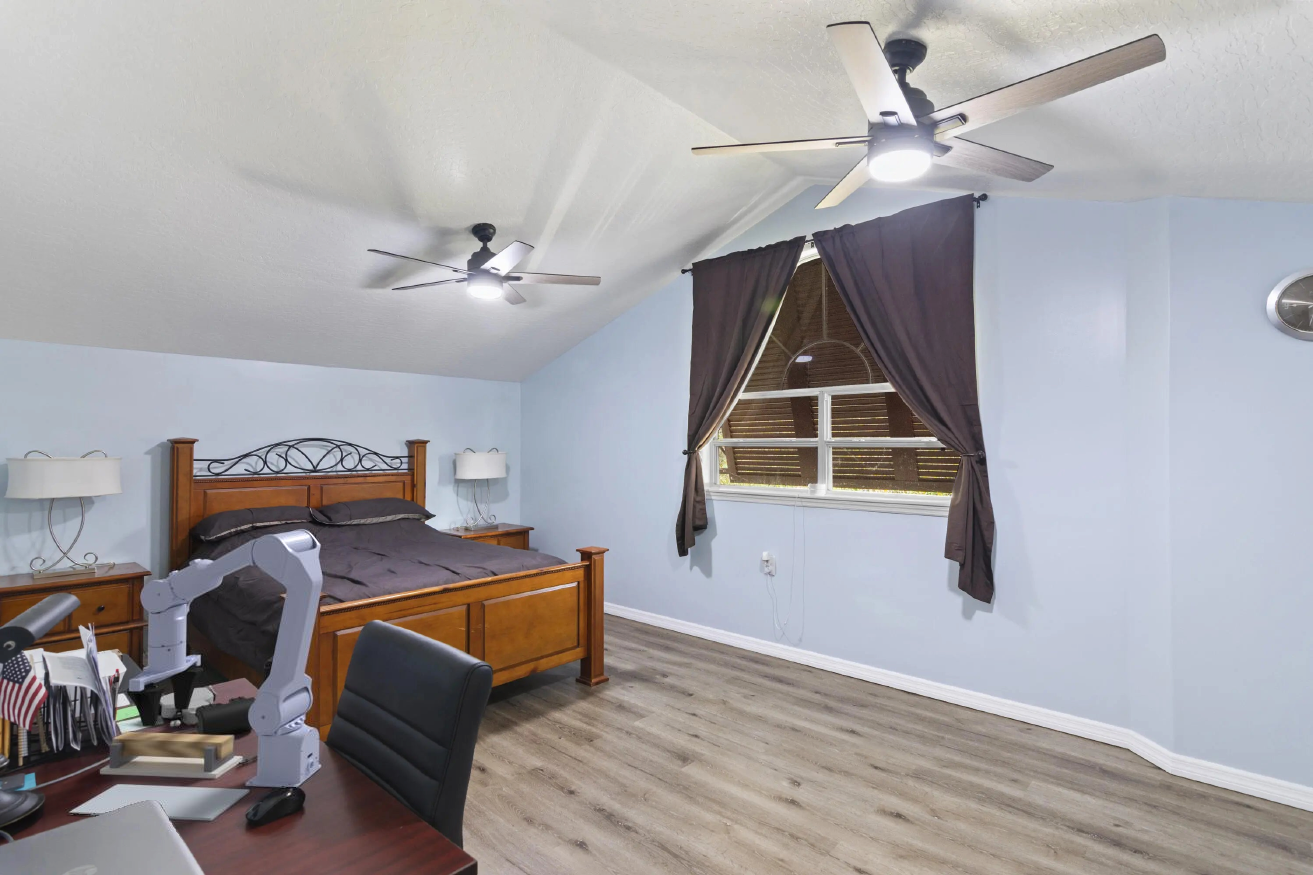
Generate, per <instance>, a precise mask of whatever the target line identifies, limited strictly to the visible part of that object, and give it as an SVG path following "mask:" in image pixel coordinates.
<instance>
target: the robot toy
mask: <svg viewBox="0 0 1313 875" xmlns="http://www.w3.org/2000/svg"><path fill="white" fill-rule="evenodd" d="M208 688H209V689H208ZM208 688H207V687H195V688H194V691H193V694H192V697H191V700H190V704H189V707H188V709H186V710H181V709H175V705H174V692H171V693H169V694H165V695H162V697H161V700H160V704H159V711H158V717H161V718H163V719H168V718H169V719H170V723H169V726H170V727H171V728H172V727H178V726H181V724H182V722H183V723H184V724H186V725H187V726H192V725H195V723H196V722H198V723H199V719H198V718H197V717H196V716H195V713H196V709H197V708H198V707H200V706H202V705H203V706H204V705H208V704H210V703H211V704H214V702H215V701H216V697H217V696H218V694H217V692H216V691H214V689H213V687H212V685H209V686H208ZM222 704H223V703H221V702H217V703H215V704H214V705H216V706H218V705H222Z"/></svg>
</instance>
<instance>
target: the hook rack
mask: <svg viewBox="0 0 1313 875" xmlns="http://www.w3.org/2000/svg"><path fill="white" fill-rule="evenodd" d="M235 735H236V734H234V735H227V736H233V752H232V753H230V754H229V755H227V756H226V757H224V758H223V759H216V746H208V747H206V748H204V759H201V758H175V757H149V756H123V755H122V744H123V743H113V742H112V743H110V744H109V764H107V765H105V766H104V767H102V768H101V769H99V774H100V775H116V776H117V775H121V776H145V777H147V776H148V777H167V778H169V777H171V778H189V779H190V778H193V779H196V778H197V779H214V780H215V779H217V778H219V777H221V776H222V775H224V774H226V772H228V771H229V770H231V769H232V768H234V767H235V766H237V765H238V764H239V762H240V763H241V762H242V761H243V756H241V755H235Z"/></svg>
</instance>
